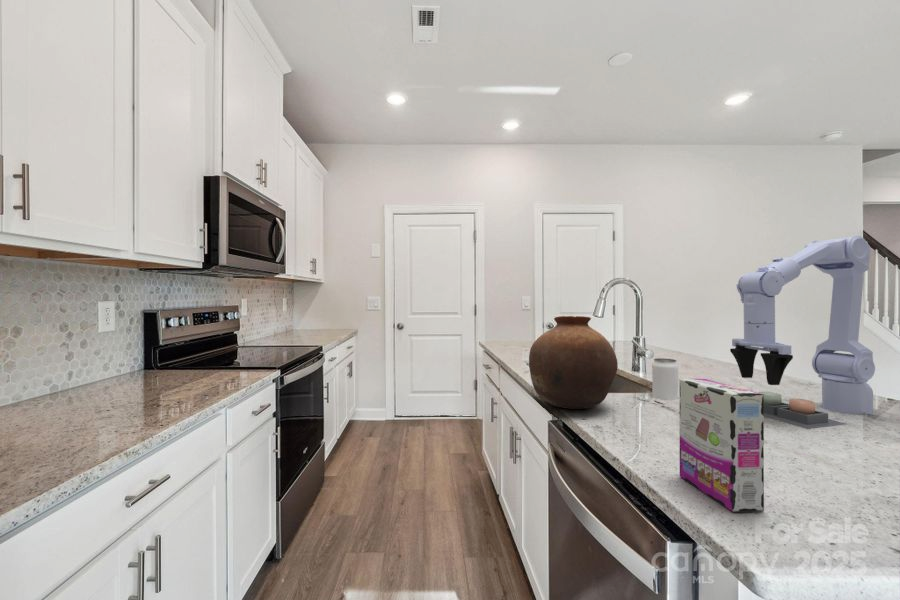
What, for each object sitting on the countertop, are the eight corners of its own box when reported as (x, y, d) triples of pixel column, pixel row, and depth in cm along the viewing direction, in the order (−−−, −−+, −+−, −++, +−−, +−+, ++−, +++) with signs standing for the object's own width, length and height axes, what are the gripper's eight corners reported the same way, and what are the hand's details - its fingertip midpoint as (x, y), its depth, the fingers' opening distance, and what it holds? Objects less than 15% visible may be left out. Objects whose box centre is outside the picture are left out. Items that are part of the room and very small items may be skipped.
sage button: (767, 400, 97) (767, 391, 97) (786, 405, 92) (786, 395, 92) (753, 401, 96) (753, 392, 96) (772, 406, 91) (772, 396, 91)
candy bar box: (767, 512, 52) (766, 393, 52) (733, 514, 52) (732, 394, 52) (706, 474, 64) (705, 377, 64) (677, 476, 63) (677, 377, 63)
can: (682, 405, 104) (682, 362, 104) (656, 404, 106) (656, 361, 106) (673, 399, 111) (673, 358, 111) (649, 398, 112) (649, 357, 112)
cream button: (740, 393, 104) (740, 385, 104) (756, 397, 99) (756, 388, 99) (727, 394, 102) (727, 386, 102) (743, 399, 98) (743, 389, 98)
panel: (741, 402, 107) (741, 389, 107) (848, 430, 84) (848, 414, 84) (706, 405, 104) (706, 392, 104) (807, 435, 81) (807, 419, 81)
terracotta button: (798, 408, 90) (798, 398, 90) (820, 413, 86) (820, 402, 86) (784, 409, 89) (784, 399, 89) (805, 415, 85) (805, 404, 85)
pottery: (561, 424, 90) (561, 318, 90) (514, 399, 112) (513, 314, 112) (637, 414, 97) (636, 316, 97) (579, 393, 119) (578, 313, 119)
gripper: (719, 321, 96) (720, 375, 96) (768, 325, 82) (769, 388, 82) (747, 321, 96) (748, 374, 96) (800, 325, 82) (801, 388, 82)
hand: (759, 381), depth 89 cm, fingers open, 7 cm apart
